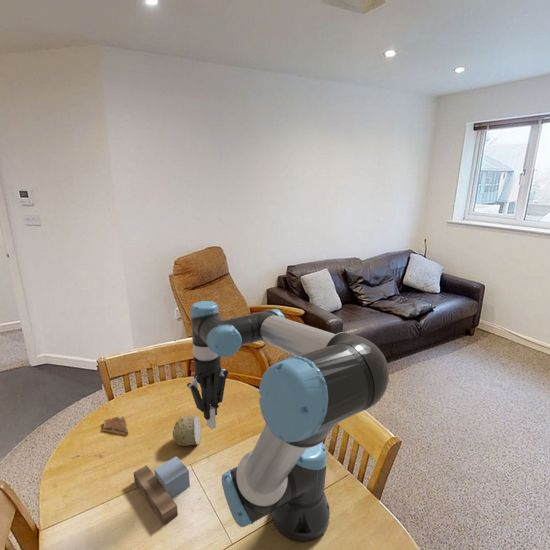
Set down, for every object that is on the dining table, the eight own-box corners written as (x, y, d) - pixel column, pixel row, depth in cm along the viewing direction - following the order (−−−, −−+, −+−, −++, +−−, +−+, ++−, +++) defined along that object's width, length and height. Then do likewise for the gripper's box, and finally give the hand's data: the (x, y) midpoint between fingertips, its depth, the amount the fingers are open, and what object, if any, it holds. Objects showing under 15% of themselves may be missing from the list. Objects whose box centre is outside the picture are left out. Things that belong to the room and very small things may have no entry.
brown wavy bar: (177, 515, 94) (176, 505, 93) (163, 525, 91) (162, 514, 90) (147, 474, 107) (146, 464, 106) (134, 482, 104) (133, 472, 103)
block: (189, 486, 103) (188, 470, 101) (167, 501, 98) (165, 484, 96) (177, 472, 108) (176, 456, 106) (155, 485, 103) (154, 469, 101)
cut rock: (205, 435, 113) (175, 424, 112) (194, 456, 116) (165, 446, 115) (211, 413, 122) (183, 403, 121) (200, 434, 125) (174, 424, 124)
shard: (128, 436, 122) (128, 432, 122) (104, 444, 118) (103, 440, 118) (124, 418, 131) (123, 414, 131) (101, 425, 127) (100, 420, 127)
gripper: (218, 343, 108) (221, 411, 114) (179, 358, 99) (185, 430, 105) (233, 351, 103) (236, 422, 109) (194, 368, 94) (199, 443, 100)
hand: (211, 426), depth 107 cm, fingers closed
